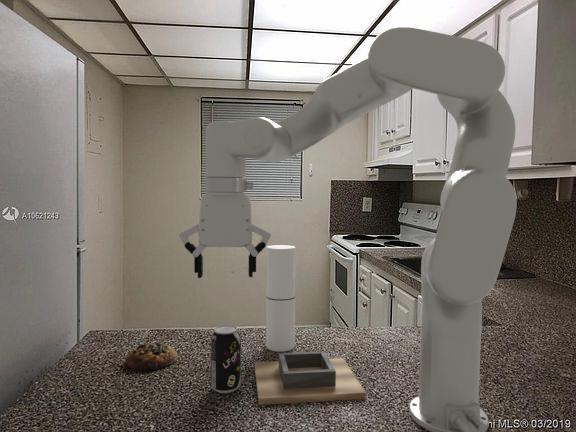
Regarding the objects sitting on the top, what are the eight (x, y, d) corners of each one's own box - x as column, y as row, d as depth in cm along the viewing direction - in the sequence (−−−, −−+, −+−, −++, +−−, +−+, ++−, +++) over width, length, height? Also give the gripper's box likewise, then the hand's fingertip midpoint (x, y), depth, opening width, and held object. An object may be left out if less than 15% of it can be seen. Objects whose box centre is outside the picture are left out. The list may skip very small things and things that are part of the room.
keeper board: (365, 398, 77) (365, 376, 77) (258, 404, 75) (258, 382, 74) (343, 363, 93) (343, 345, 93) (254, 367, 90) (254, 348, 90)
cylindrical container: (269, 352, 99) (270, 249, 97) (263, 342, 106) (263, 245, 104) (298, 349, 101) (299, 248, 99) (290, 339, 108) (291, 244, 106)
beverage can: (244, 383, 83) (244, 325, 82) (234, 397, 77) (234, 334, 77) (218, 380, 84) (218, 322, 84) (206, 393, 79) (205, 331, 78)
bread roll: (125, 375, 86) (126, 350, 87) (125, 362, 97) (126, 340, 97) (179, 369, 90) (180, 346, 91) (174, 357, 101) (174, 336, 101)
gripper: (269, 188, 83) (268, 271, 84) (182, 187, 81) (182, 273, 82) (272, 188, 76) (271, 279, 77) (176, 187, 74) (177, 281, 75)
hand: (225, 276), depth 80 cm, fingers open, 9 cm apart
